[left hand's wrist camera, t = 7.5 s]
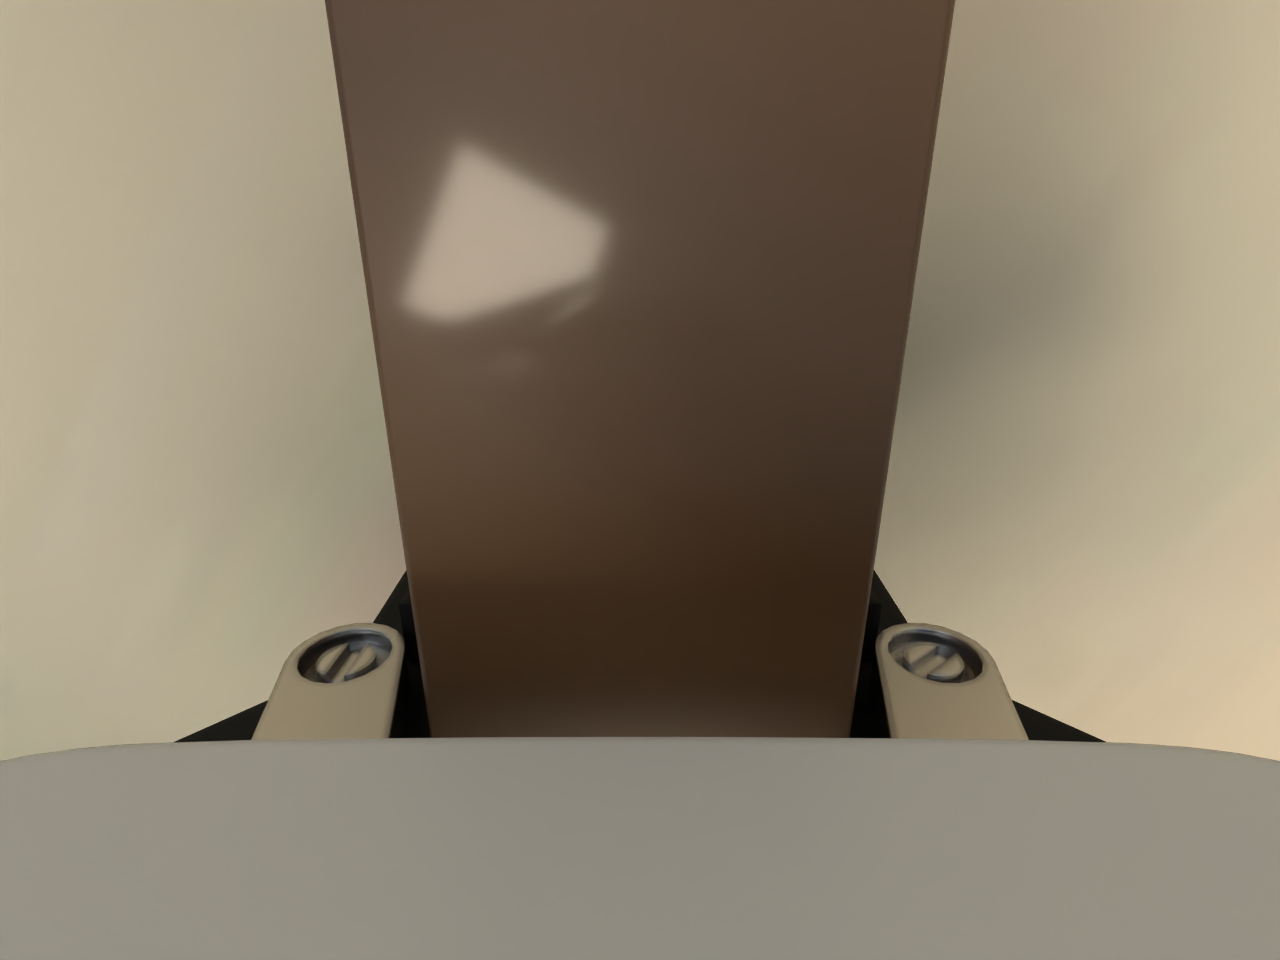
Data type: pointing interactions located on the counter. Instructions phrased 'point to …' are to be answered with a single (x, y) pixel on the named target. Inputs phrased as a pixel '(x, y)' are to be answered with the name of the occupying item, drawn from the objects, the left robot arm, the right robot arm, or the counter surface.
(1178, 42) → the counter surface
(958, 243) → the counter surface
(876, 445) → the beam
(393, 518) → the counter surface
